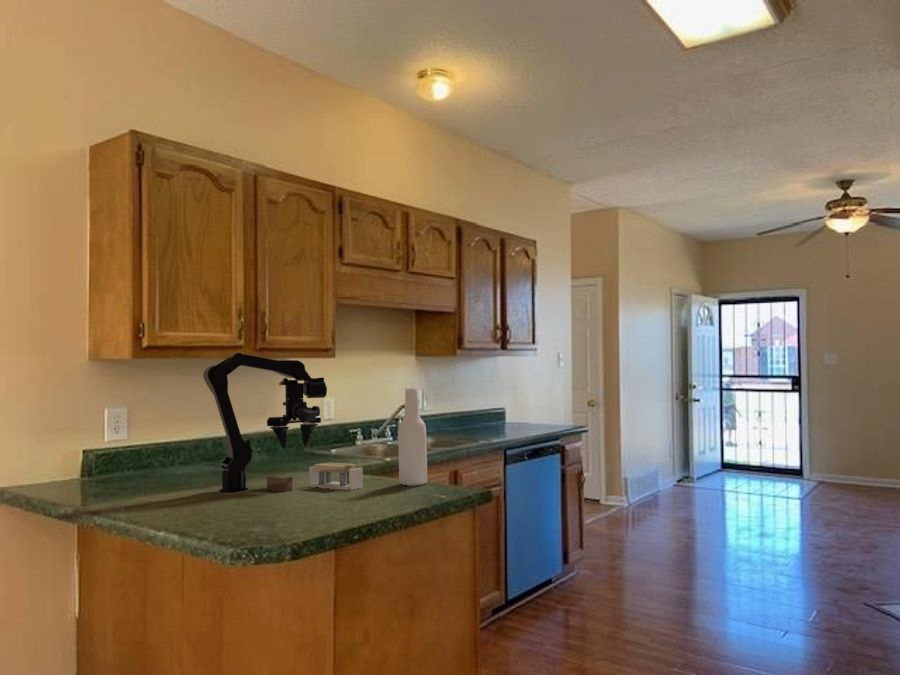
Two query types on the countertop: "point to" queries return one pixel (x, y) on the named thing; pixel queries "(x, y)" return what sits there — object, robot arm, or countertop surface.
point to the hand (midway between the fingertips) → (294, 446)
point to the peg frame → (352, 482)
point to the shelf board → (334, 467)
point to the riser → (279, 483)
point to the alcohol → (412, 443)
